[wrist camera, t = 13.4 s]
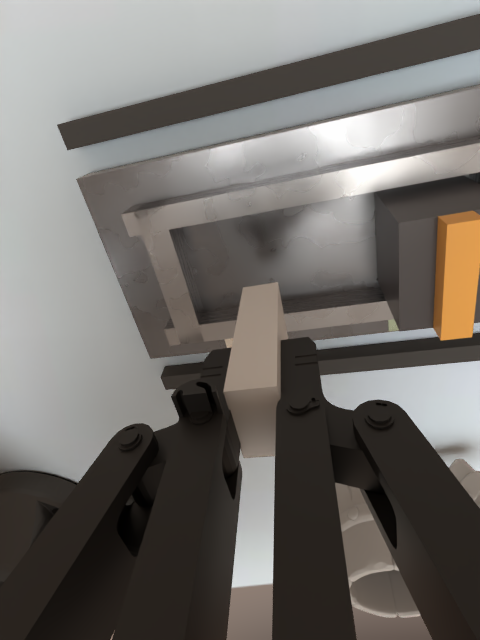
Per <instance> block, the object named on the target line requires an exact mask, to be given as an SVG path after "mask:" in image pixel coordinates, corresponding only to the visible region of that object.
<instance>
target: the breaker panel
mask: <svg viewBox="0 0 480 640" xmlns="http://www.w3.org/2000/svg"><path fill="white" fill-rule="evenodd" d="M462 175H464V176H466V177H468V178H469V179H471V180H473V181H475V182H477V183H479V184H480V84H479V85H474V86H470V87H466V88H461V89H457V90H452V91H448V92H444V93H439V94H435V95H431V96H426V97H422V98H417V99H413V100H409V101H404V102H400V103H395V104H391V105H387V106H382V107H378V108H374V109H369V110H365V111H360V112H356V113H352V114H347V115H343V116H338V117H334V118H330V119H325V120H321V121H317V122H312V123H308V124H303V125H299V126H295V127H290V128H286V129H281V130H277V131H273V132H268V133H264V134H260V135H255V136H251V137H246V138H242V139H238V140H233V141H229V142H224V143H220V144H216V145H211V146H207V147H203V148H198V149H194V150H189V151H185V152H181V153H176V154H172V155H167V156H163V157H159V158H154V159H150V160H146V161H141V162H137V163H132V164H128V165H124V166H119V167H115V168H110V169H106V170H102V171H97V172H93V173H89V174H87V175H84V176H82V177H80V178H78V179H76V180H77V182H78V184H79V187H80V189H81V192H82V194H83V196H84V199H85V201H86V204H87V206H88V209H89V211H90V213H91V216H92V218H93V221H94V223H95V225H96V228H97V230H98V233H99V235H100V238H101V240H102V242H103V245H104V247H105V250H106V252H107V254H108V257H109V259H110V262H111V264H112V267H113V269H114V271H115V274H116V276H117V279H118V281H119V283H120V286H121V288H122V291H123V293H124V296H125V298H126V300H127V303H128V305H129V308H130V310H131V312H132V315H133V317H134V320H135V322H136V324H137V327H138V329H139V332H140V334H141V337H142V339H143V341H144V344H145V346H146V349H147V351H148V353H149V356H150V358H151V359H152V358H161V357H170V356H179V355H187V354H196V353H205V352H211V351H212V350H216V349H224V348H232V343H233V338H234V332H235V327H236V322H237V316H238V311H239V306H240V300H241V295H242V290H243V287H250V286H256V285H262V284H269V283H275V282H278V285H279V290H280V296H281V301H282V307H283V312H284V318H285V323H286V329H287V334H288V339H294V338H302V337H309V338H310V339H311V340H321V339H330V338H339V337H348V336H357V335H366V334H375V333H384V332H393V331H399V329H398V327H397V325H396V322H395V320H394V318H393V315H392V313H391V311H390V308H389V306H388V304H387V302H386V299H385V297H384V295H383V292H382V290H381V288H380V286H379V283H378V270H377V244H376V218H375V191H381V190H386V189H391V188H397V187H402V186H408V185H413V184H418V183H424V182H429V181H435V180H440V179H445V178H451V177H456V176H462Z"/></svg>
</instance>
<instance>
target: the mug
mask: <svg viewBox="0 0 480 640" xmlns="http://www.w3.org/2000/svg"><path fill="white" fill-rule="evenodd" d="M449 469H450V470H451V472H452V473H453V474H454V476H455V477H456V478H457V479H458V481H459V482H460V483H461V485H462V486H463V487H464V489H465V490H466V491H467V492H468V494H469V495H470V496H471V498H472V499H473V500H474V502H475V503H476V504H477V505H478V507H479V508H480V471H475V470H474V469H473V468H472V467H471V466H470V465H469V464H468V463H467V462H466V461H465V460H463V459H456V460H455V461H454V462H453V463H452V464H451V466H450V467H449ZM335 486H336V493H337V501H338V508H339V515H340V522H341V530H342V537H343V544H344V552H345V559H346V566H347V573H348V581H349V588H350V595H351V603H352V606H354V607H356V608H357V609H360V610H362V611H365V612H368V613H371V614H374V615H378V616H382V617H396V616H397V614H398V615H399V616H400V617H401V618H406V617H416V616H421V615H420V613H419V611H418V608H417V606H416V604H415V602H414V600H413V598H412V596H411V594H410V592H409V590H408V588H407V586H406V584H405V582H404V580H403V578H402V576H401V574H400V571H399V569H398V567H397V565H396V563H395V561H394V559H393V557H392V555H391V553H390V551H389V549H388V547H387V545H386V543H385V541H384V539H383V537H382V535H381V532H380V530H379V528H378V526H377V524H376V522H375V520H374V518H373V516H372V514H371V512H370V510H369V508H368V506H367V504H366V502H365V500H364V498H363V496H362V493H361V491H360V489H359V488H355V487H351V486H347V485H343V484H339V483H335Z"/></svg>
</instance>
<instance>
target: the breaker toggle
mask: <svg viewBox="0 0 480 640" xmlns="http://www.w3.org/2000/svg"><path fill="white" fill-rule="evenodd" d="M375 218H376V244H377V270H378V283H379V286H380V288H381V290H382V292H383V295H384V297H385V299H386V302H387V304H388V306H389V308H390V311H391V313H392V315H393V318H394V320H395V322H396V325H397V327H398V329H399V331H407V330H416V329H425V328H434V330H435V332H436V333H437V335H438V337H439V339H440V340H451V339H460V338H470V337H472V334H473V325H474V323H479V322H480V184H479V183H477V182H475V181H473V180H471V179H469V178H468V177H466V176H464V175H462V176H456V177H451V178H445V179H440V180H435V181H429V182H424V183H418V184H413V185H408V186H402V187H397V188H391V189H386V190H381V191H375Z"/></svg>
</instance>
